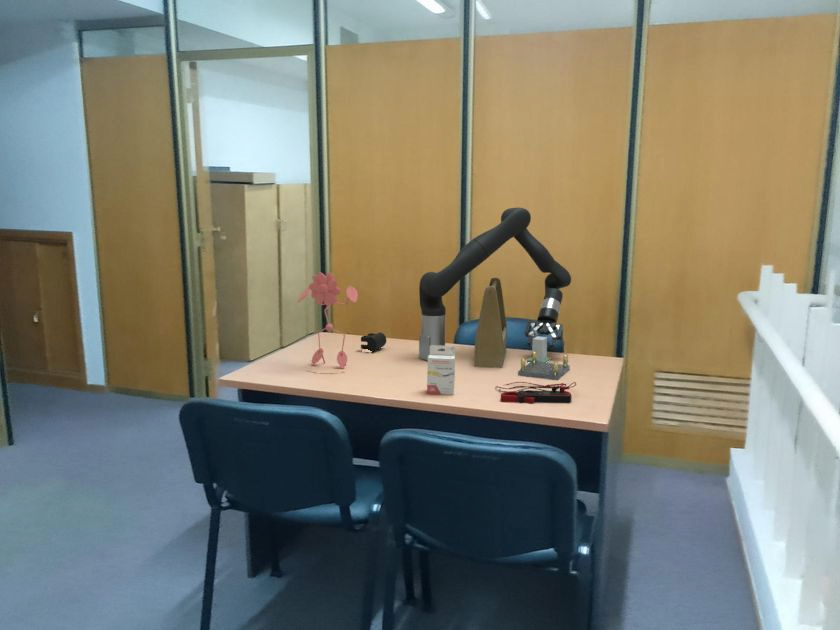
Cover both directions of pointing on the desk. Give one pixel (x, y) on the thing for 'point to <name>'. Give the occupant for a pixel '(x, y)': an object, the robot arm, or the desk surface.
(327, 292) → the figurine
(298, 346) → the desk surface
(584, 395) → the desk surface
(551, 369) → the standoff chassis
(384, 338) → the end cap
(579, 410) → the desk surface
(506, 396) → the digital clamp meter
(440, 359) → the ink cartridge box
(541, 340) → the board module
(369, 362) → the desk surface
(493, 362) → the caddy
